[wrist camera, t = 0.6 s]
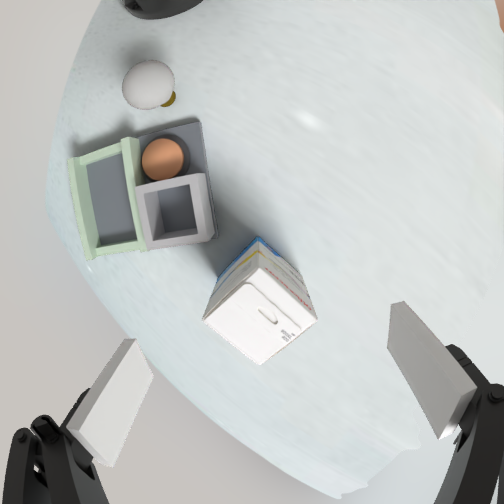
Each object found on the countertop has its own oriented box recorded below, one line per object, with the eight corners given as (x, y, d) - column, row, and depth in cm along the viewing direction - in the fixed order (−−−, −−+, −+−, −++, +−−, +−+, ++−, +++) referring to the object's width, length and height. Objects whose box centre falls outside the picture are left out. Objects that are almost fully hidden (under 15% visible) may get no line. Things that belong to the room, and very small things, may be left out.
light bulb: (141, 113, 31) (104, 98, 22) (158, 75, 30) (127, 49, 20) (178, 124, 32) (149, 109, 22) (196, 85, 30) (174, 57, 20)
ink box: (215, 278, 37) (197, 321, 26) (258, 234, 35) (257, 263, 24) (260, 316, 39) (260, 368, 28) (304, 277, 37) (320, 320, 26)
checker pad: (143, 145, 31) (139, 144, 30) (181, 135, 31) (178, 134, 29) (149, 183, 32) (145, 184, 31) (186, 175, 32) (184, 175, 31)
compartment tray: (82, 158, 33) (59, 158, 28) (201, 123, 32) (190, 114, 26) (100, 254, 37) (80, 266, 32) (218, 236, 36) (211, 247, 30)
